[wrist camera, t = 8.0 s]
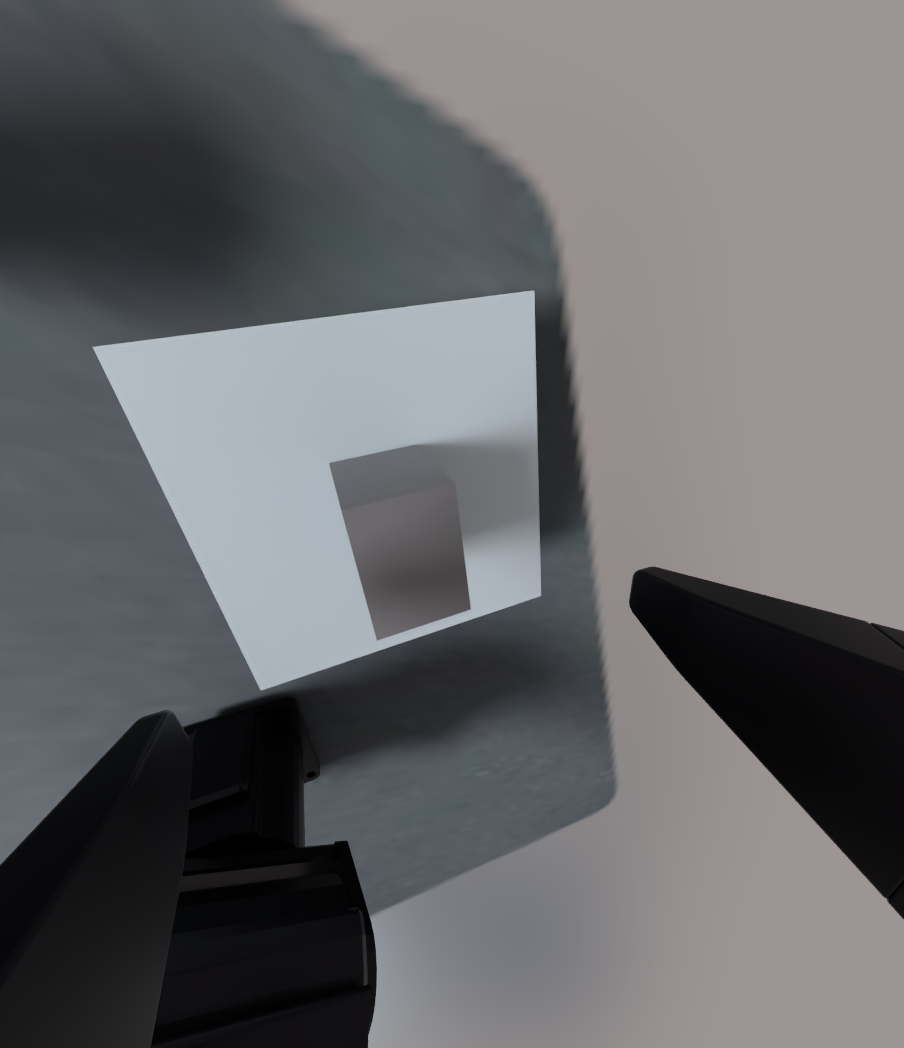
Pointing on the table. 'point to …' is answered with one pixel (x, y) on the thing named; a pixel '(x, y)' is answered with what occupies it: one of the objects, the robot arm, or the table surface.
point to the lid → (348, 471)
